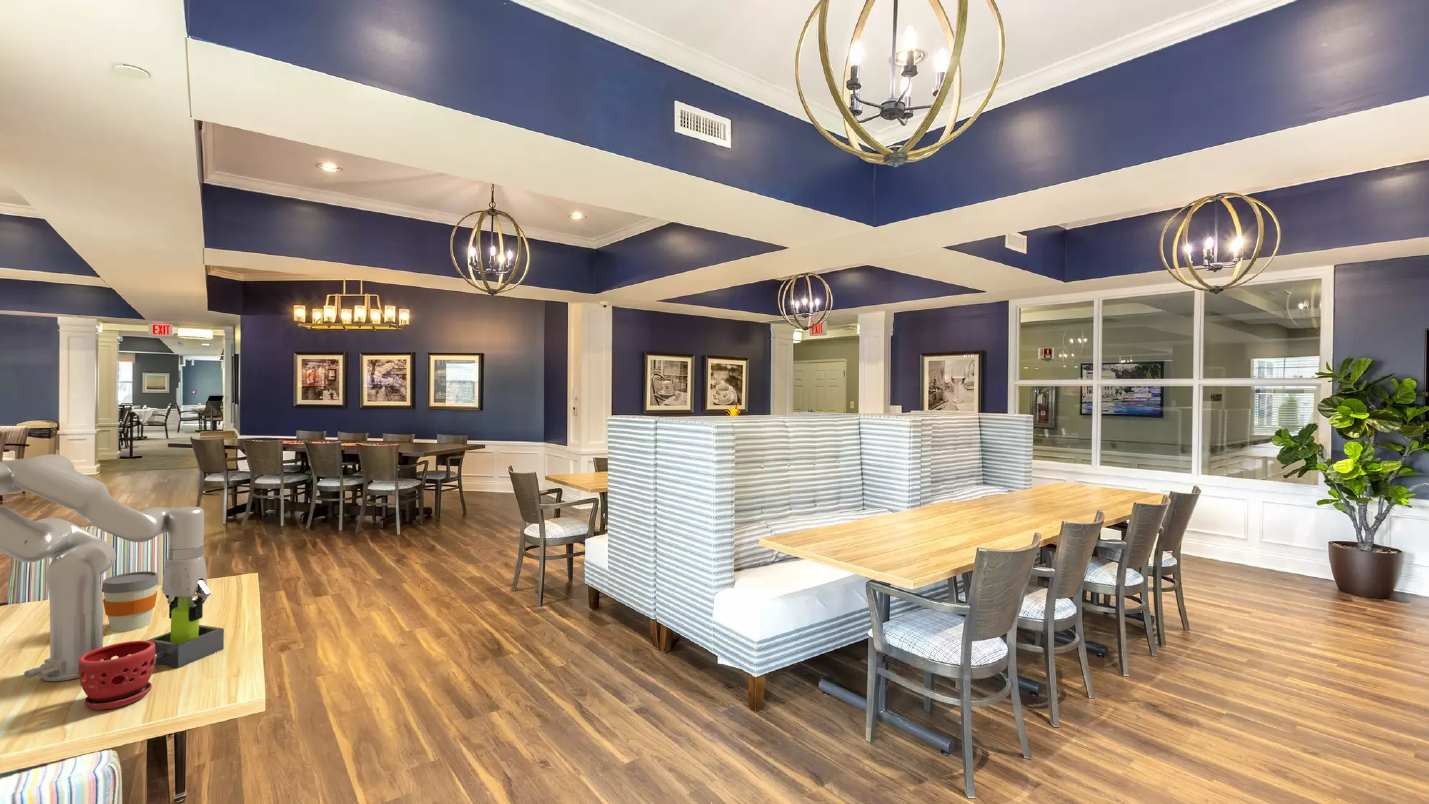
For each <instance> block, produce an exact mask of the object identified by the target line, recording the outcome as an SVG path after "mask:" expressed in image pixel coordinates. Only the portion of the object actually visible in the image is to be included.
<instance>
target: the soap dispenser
mask: <svg viewBox="0 0 1429 804" xmlns="http://www.w3.org/2000/svg"><path fill="white" fill-rule="evenodd" d="M189 607H191V604H190V601H189V598H183V597H178V607H176V608H174V609H172V611H171V619H170V632H171V637H170V642H172V643H179V644H180V643H182V642H185V641H188V640H190V639H193V638H196V637H198V636H199V625H200V619H198V620H195V621H192V622H191V621H189Z"/></svg>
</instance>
